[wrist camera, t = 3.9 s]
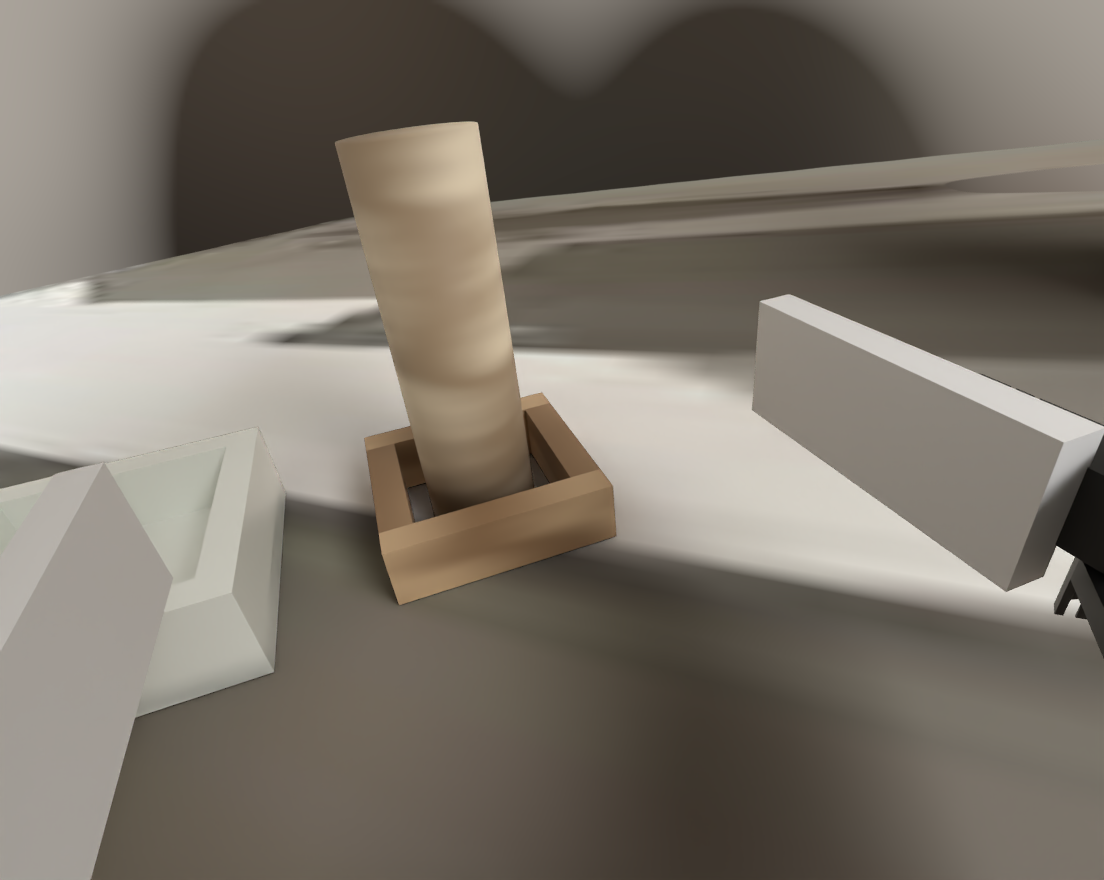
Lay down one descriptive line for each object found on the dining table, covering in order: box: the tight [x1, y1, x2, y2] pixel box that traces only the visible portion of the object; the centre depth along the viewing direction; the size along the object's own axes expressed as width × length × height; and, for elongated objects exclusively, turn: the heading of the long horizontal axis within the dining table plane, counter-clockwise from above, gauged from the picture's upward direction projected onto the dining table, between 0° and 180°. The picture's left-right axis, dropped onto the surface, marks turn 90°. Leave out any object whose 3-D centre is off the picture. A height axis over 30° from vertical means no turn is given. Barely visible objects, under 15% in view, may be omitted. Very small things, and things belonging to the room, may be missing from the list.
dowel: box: [335, 122, 534, 517], centre depth 19 cm, size 4×4×12 cm
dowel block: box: [364, 393, 616, 605], centre depth 21 cm, size 7×7×2 cm
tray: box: [0, 427, 286, 718], centre depth 19 cm, size 9×9×3 cm
